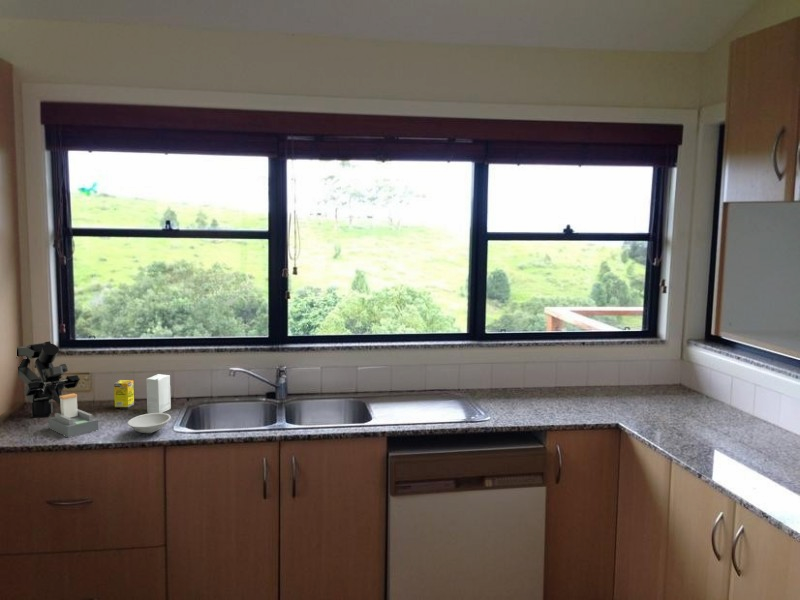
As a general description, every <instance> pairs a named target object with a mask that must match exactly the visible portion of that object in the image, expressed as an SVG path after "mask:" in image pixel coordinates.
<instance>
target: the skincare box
mask: <svg viewBox="0 0 800 600" xmlns="http://www.w3.org/2000/svg"><path fill="white" fill-rule="evenodd" d="M145 380H146V403H147V404H146V408H147V409H146V410H147V413H146V414H149V413H165V412H167V411H169V410H171V407H172V405H171V404H172V403H171V402H172V401H171V400H172V399H171V375H170V374H161V373H157V374H155V375H152V376H150V377H147V378H146V379H145Z"/></svg>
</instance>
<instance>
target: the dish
mask: <svg viewBox="0 0 800 600" xmlns="http://www.w3.org/2000/svg"><path fill="white" fill-rule="evenodd" d="M171 419H172V417H171V415H170V414H168V413H165V412H163V413H145V414H140V415H137V416H134V417H132V418H130V419H129V420H128V421H127V426H129V427H130V428H131V429H133V430H134V431H136V432H138V433H143V434H152V433H154V432H157V431H159V430H161V429H163V427H165V426H166V425H167V424H168V422H169V421H170V420H171Z"/></svg>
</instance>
